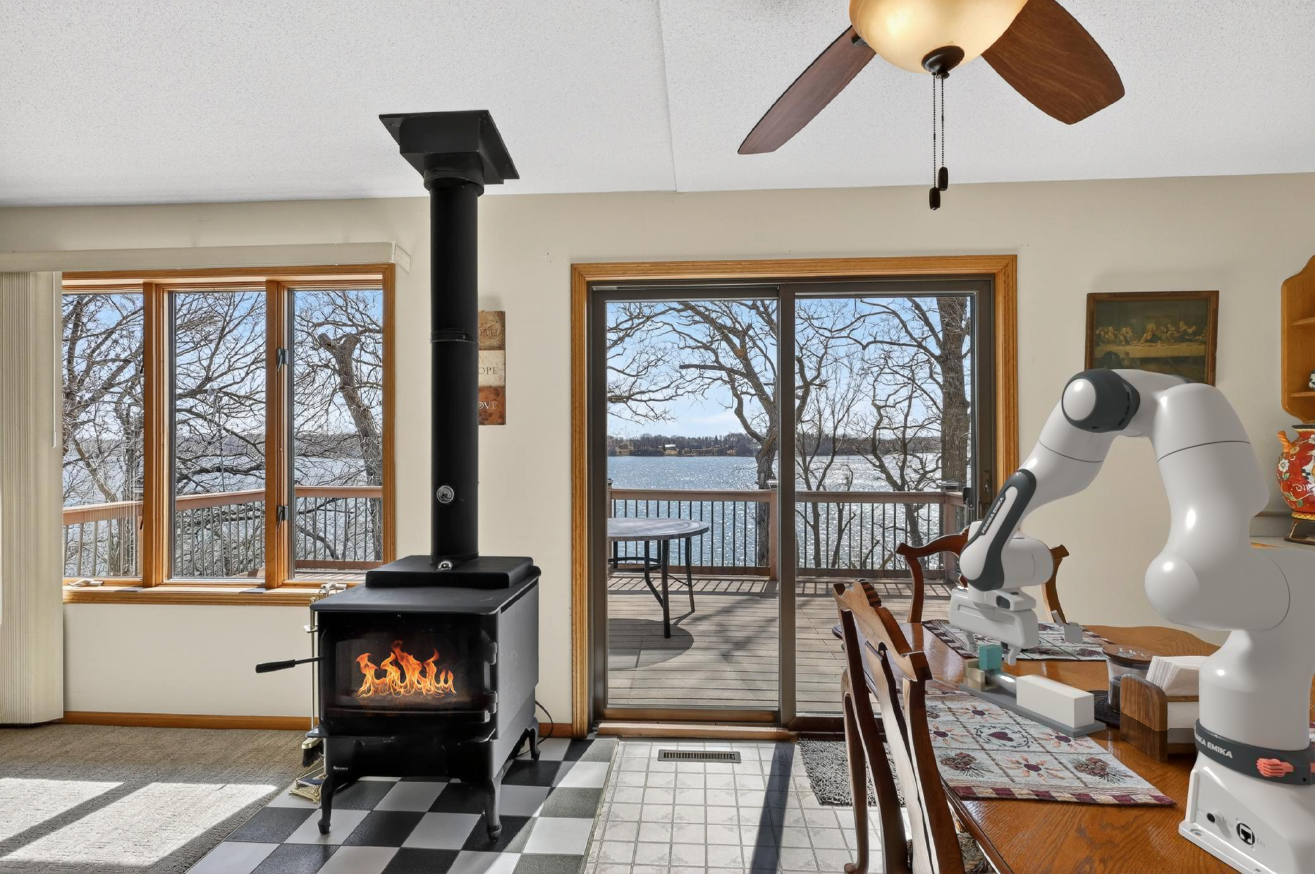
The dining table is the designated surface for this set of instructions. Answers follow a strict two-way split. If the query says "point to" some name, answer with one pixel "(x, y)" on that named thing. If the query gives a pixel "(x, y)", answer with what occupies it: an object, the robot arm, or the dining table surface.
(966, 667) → the socket block
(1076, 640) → the lighter
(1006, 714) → the dining table surface
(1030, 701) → the tube stand
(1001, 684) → the slip tube
